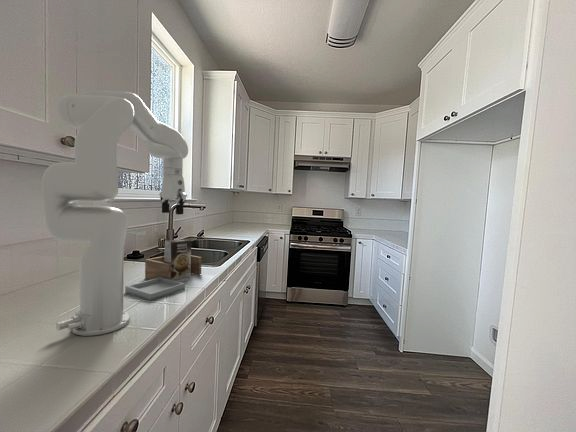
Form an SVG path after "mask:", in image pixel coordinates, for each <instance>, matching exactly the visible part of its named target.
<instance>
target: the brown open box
mask: <svg viewBox="0 0 576 432" xmlns="http://www.w3.org/2000/svg"><path fill="white" fill-rule="evenodd" d="M144 261H145V263H144V265H145V266H144V278H145V280H151V279H155V278H159V277H162V278H166V279H170V275H171V264H168V263H164V255H163V256H157V257H152V258H145V260H144ZM202 261H203V259H202V256H197V255H192V254H191V273H190V274H192V273H193V274H192V275H196V274H197V275H196V276H201V275H202ZM200 274H201V275H200Z"/></svg>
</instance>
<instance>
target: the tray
mask: <svg viewBox="0 0 576 432" xmlns="http://www.w3.org/2000/svg"><path fill="white" fill-rule="evenodd" d="M124 287H125V290H124V291H125V292H124V294H127V295H131V296H133V297H137V298H140V299H142V300H146V301H148V302H152V301H155V300H159V299H161V298H164V297H167V296H171V295H173V294H176V293H178V292H179V293H180V292H182V291H185V290H186V283H185V282H180V281H177V280H170V279H166V278H162V277H159V278H155V279H151V280H149V279H146V280H143V281H140V282H137V283H133V284H129V285H125V286H124Z"/></svg>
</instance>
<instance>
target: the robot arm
mask: <svg viewBox="0 0 576 432" xmlns="http://www.w3.org/2000/svg"><path fill="white" fill-rule="evenodd" d="M57 112H58V115H59V117H60V119H61V121H62V122H63V123H64V124H65V125H67V126H69V127H70V128H73V129H76V130H78V131H77V133H76V136H75V138H74V144H73V145H74V162H72V161H71V162H68V161H67V162H66V161H62V162H56V163H55V162H54V163H53V164H50V165H49V166H48V167H47V168H46V169H45V170H44V172H43V175H42V177H41V192H42V198H43V199H42V200H43V207H44V208H43V209H44V216H45V222H46V227H47V230H48V232H49V234H50V236H52V237H53V239H56V240H57V241H60V242H70V243H72V242H73V243H89V244H88V246H87V247H86V249H85V250H84V251H83V253H82V254H81V256H80V260H79V310H77V311H76V312H74V316H72V317H70V319H69V318H68V319H64V320H61V321H57V322H56V324H55V328H56V331H60V330H61V331H62V330H65V329H67V330H69V331H71V330H72V332H73V333H74V334H75V335H78V336H85V337H87V336H88V337H90V336H99V335H103V334H109V333H112V332H115V331H117V330H120V329H122V328H124V327H125V326H126V325H128V324H129V322H130V320H131V319H130V317H131V315H130V314H129V313H128V312H126V311H124V255H125V254H124V252H125V244H126V243H125V242H126V237H127V236H126V235H127V232H128V226H129V220H128V216H127V214H126V213H125V212H124V211H123V210H121V209H120V208H116V207H113V206H108V205H80V202H81V201H84V202H107V201H111V200H113V199H115V198H116V197H117V196H118V193H119V175H118V159H117V158H118V157H117V148H118V147H117V146H118V142H119V140H120V138H121V136H122V135H123V133H124V132H125V131H127V130H128V129H130V130H131V132H132V133H133V134H134V135H136V137H138V138H139V139H141V140H143V141H146V142H148V144H147V150H148V153H149V155H151V156H152V157H154V158H155V159H162V163H163V164H162V183H161V192H159V196H160V197H159V199H160V202H161V213H162V214H166V213H167V214H169V213H170V203H169V202H170V201H171V200H172V201H175V203H176V204H175V215H184V205H185V202H186V201H187V199H186V198H187V197H188V195H187V193H186V188H185V180H184V179H185V178H184V176H183V162H184V161H183V160H184V159H185V158H187V156H188V154H189V146H188V143H187V141H186V139H185V138H184V137H183V135H182V133H180V132H179V131H178V130H176V129H175V128H173V127H172V126H169V125H167V124H166V123H165V122H161V121H159V120H157V118H156V117H155V116H154V113H152V112H151V110H150V109H149V108H148V107H147V105H146V104H145V102H143V100H142V99H141V98H140V97H139V96H138V95H137V94H135V93H133V92H130V91H121V90H120V91H119V90H118V91H116V90H93V91H86V92H79V93H77V92H76V93H69V94H66V95H63V96H62V97H61V99H60V100H59V101H58V104H57Z"/></svg>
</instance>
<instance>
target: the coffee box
mask: <svg viewBox="0 0 576 432" xmlns="http://www.w3.org/2000/svg"><path fill="white" fill-rule="evenodd" d="M191 255H192V239H191V240H190V239H185V238H181V239H170V240H164V254H163V256H164V263H168V264H171V275H170V280H174V281H177V280H182V279H186V278H191V274H192V273H191Z"/></svg>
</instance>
